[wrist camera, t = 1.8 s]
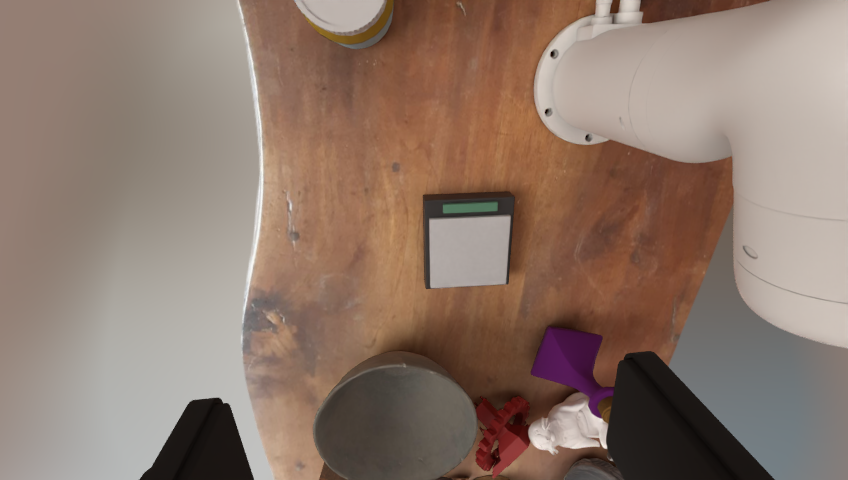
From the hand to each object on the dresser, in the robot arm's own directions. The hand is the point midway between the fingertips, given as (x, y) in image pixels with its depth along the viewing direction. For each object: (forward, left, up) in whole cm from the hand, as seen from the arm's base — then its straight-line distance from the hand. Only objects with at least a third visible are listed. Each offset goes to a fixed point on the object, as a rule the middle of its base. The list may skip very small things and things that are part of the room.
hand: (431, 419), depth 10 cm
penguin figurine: (+37, +28, -33) cm, 57 cm away
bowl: (+30, -2, -37) cm, 48 cm away
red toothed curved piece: (+41, +15, -32) cm, 54 cm away
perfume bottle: (+27, +21, -37) cm, 50 cm away
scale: (+11, +8, -37) cm, 39 cm away
